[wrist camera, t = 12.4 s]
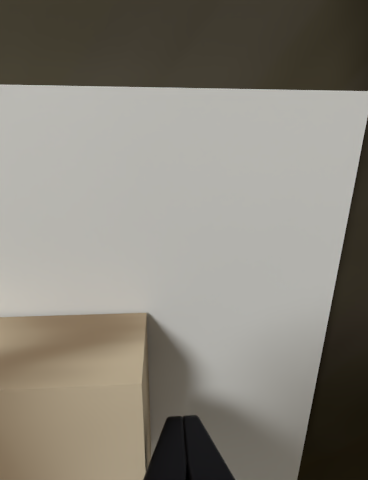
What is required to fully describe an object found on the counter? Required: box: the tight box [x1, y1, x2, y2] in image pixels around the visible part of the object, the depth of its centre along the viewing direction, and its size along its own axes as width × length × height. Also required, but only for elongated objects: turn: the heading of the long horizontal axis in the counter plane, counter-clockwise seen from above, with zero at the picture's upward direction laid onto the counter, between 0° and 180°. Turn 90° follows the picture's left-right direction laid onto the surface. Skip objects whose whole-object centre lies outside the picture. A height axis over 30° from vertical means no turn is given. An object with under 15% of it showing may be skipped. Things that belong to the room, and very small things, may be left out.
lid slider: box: [0, 313, 151, 480], centre depth 8 cm, size 6×5×3 cm
